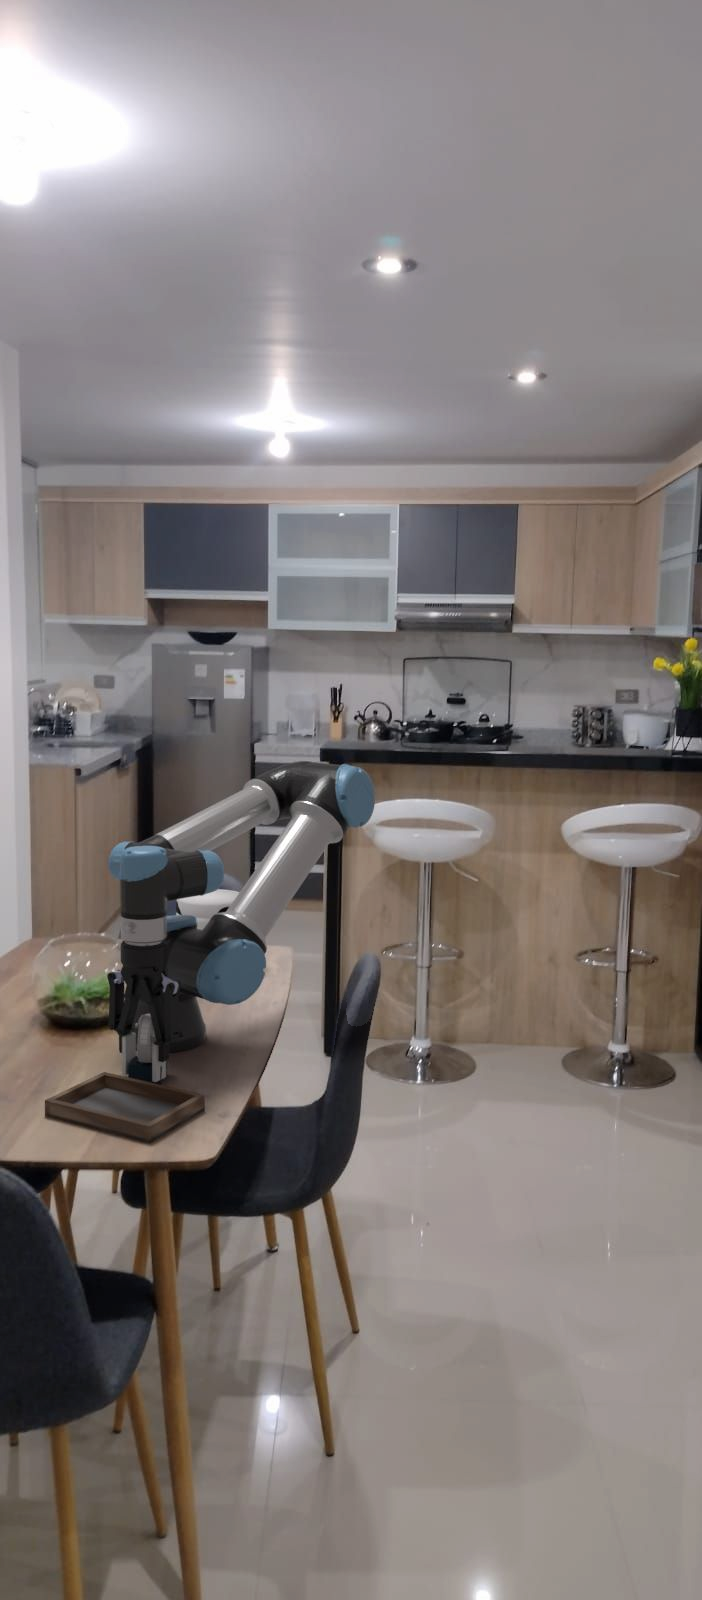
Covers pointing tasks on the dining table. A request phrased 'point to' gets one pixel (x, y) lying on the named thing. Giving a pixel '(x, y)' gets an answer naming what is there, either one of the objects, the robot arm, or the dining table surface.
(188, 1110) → the valet tray
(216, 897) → the white pedestal bowl
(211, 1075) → the dining table surface
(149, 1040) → the watch
